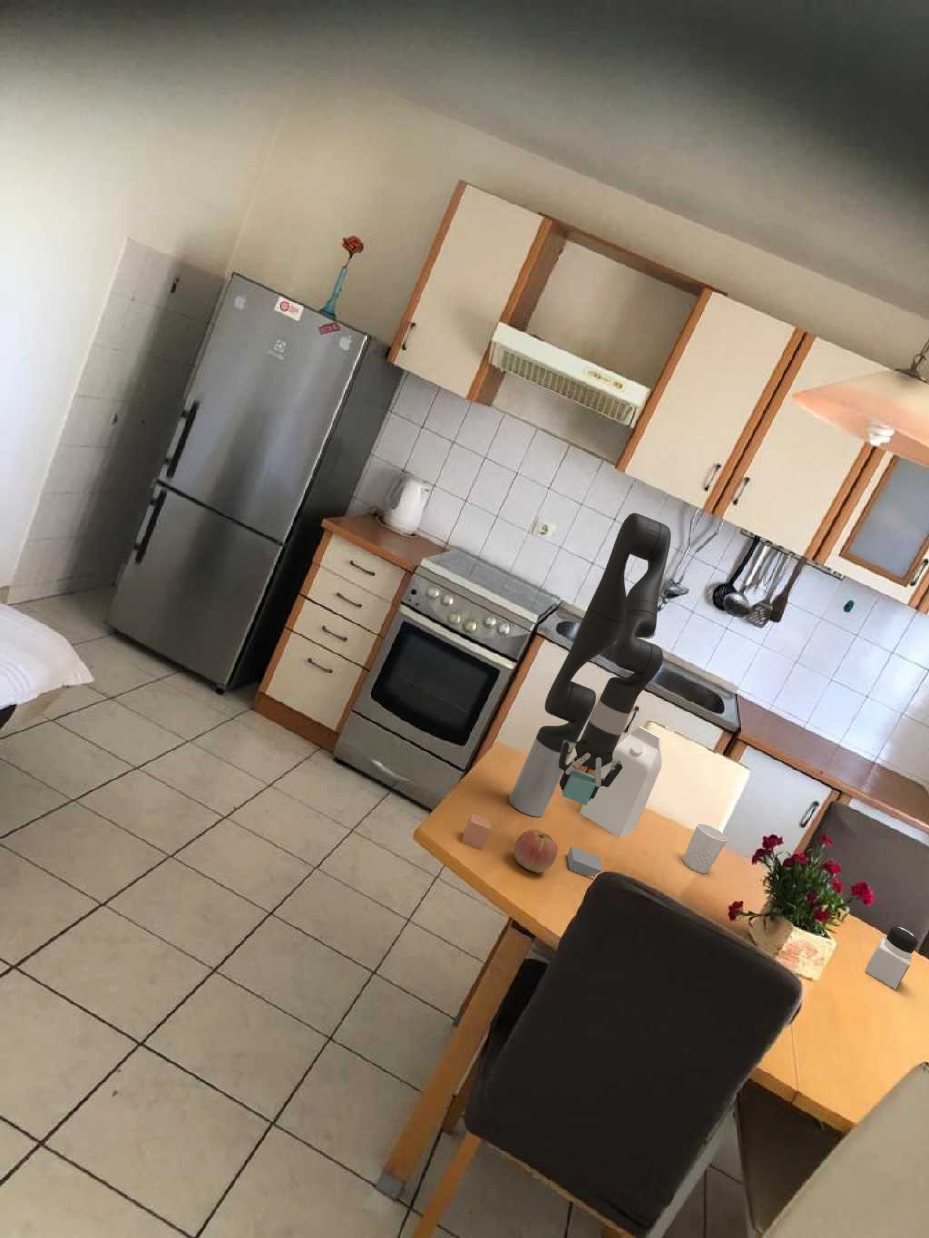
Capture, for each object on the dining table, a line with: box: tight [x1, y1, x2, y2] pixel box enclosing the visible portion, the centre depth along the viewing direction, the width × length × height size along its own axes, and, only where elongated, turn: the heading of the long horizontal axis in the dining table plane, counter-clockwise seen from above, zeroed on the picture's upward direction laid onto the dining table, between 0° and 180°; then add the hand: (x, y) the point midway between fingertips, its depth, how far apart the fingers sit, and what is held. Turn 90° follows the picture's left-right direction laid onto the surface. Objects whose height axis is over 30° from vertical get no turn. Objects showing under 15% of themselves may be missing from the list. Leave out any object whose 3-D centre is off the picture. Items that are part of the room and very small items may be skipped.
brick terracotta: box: [461, 812, 492, 851], centre depth 203 cm, size 4×4×5 cm
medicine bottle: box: [865, 926, 919, 991], centre depth 219 cm, size 7×7×12 cm
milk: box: [578, 726, 663, 839], centre depth 243 cm, size 12×12×26 cm
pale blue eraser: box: [566, 845, 604, 877], centre depth 212 cm, size 7×7×2 cm
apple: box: [513, 829, 559, 874], centre depth 202 cm, size 9×9×8 cm
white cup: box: [682, 822, 728, 875], centre depth 239 cm, size 8×8×10 cm
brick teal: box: [561, 768, 595, 806], centre depth 208 cm, size 6×6×5 cm
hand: (574, 793), depth 209 cm, fingers closed on brick teal, 5 cm apart
